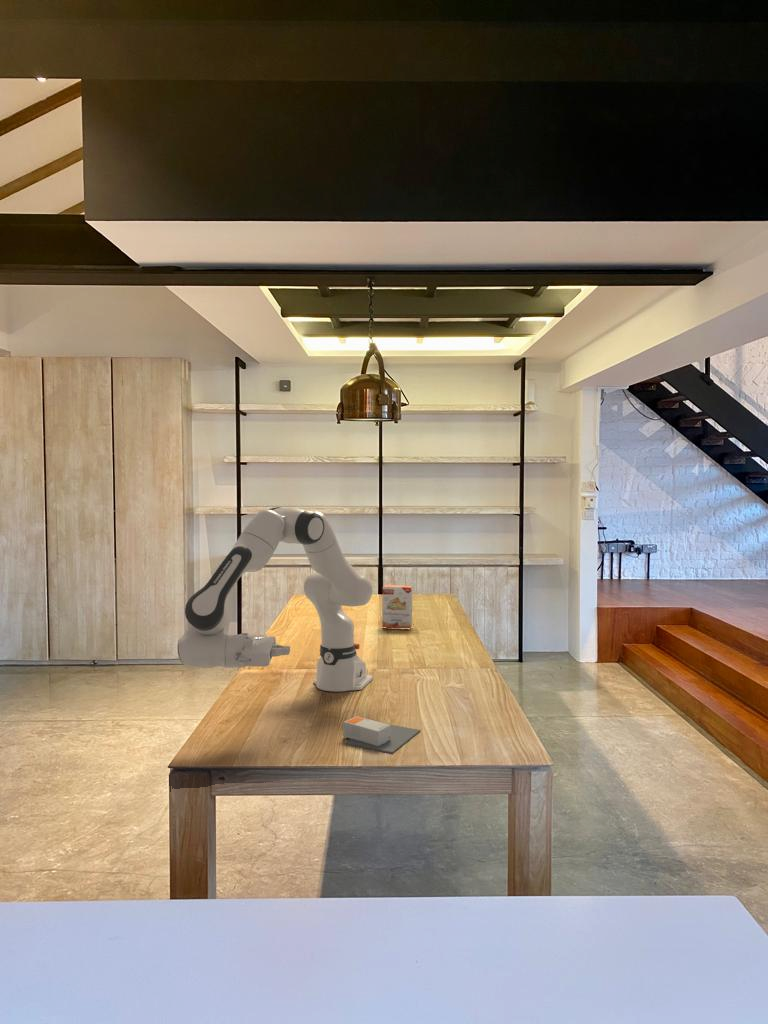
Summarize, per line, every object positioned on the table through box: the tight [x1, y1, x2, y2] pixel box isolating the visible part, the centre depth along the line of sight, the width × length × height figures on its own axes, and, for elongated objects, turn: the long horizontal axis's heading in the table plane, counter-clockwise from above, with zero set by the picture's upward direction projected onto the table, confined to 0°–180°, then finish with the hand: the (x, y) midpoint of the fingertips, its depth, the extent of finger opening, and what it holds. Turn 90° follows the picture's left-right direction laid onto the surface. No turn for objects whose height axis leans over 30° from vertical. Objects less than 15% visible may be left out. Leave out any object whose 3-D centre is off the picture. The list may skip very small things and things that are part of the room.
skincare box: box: [342, 715, 392, 746], centre depth 182 cm, size 6×4×12 cm
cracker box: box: [381, 584, 413, 629], centre depth 329 cm, size 14×6×21 cm, turn 81°
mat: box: [344, 724, 421, 754], centre depth 184 cm, size 18×14×1 cm
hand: (289, 650), depth 186 cm, fingers closed
